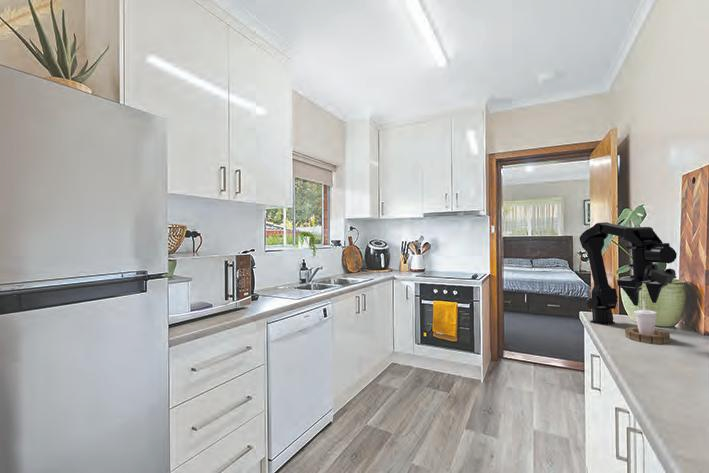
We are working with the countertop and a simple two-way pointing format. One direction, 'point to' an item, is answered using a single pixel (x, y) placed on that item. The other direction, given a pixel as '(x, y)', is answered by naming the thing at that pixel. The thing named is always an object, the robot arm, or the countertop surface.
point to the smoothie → (645, 320)
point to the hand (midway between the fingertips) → (645, 304)
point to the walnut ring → (648, 336)
